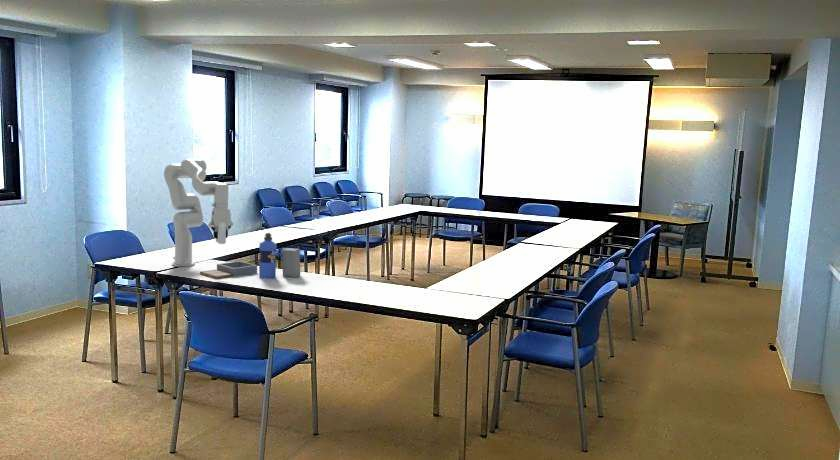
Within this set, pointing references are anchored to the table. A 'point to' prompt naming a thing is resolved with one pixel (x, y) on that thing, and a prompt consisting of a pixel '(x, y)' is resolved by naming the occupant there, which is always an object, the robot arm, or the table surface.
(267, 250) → the water bottle
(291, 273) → the skincare box
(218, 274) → the board
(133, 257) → the table surface
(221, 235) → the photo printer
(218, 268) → the bin
